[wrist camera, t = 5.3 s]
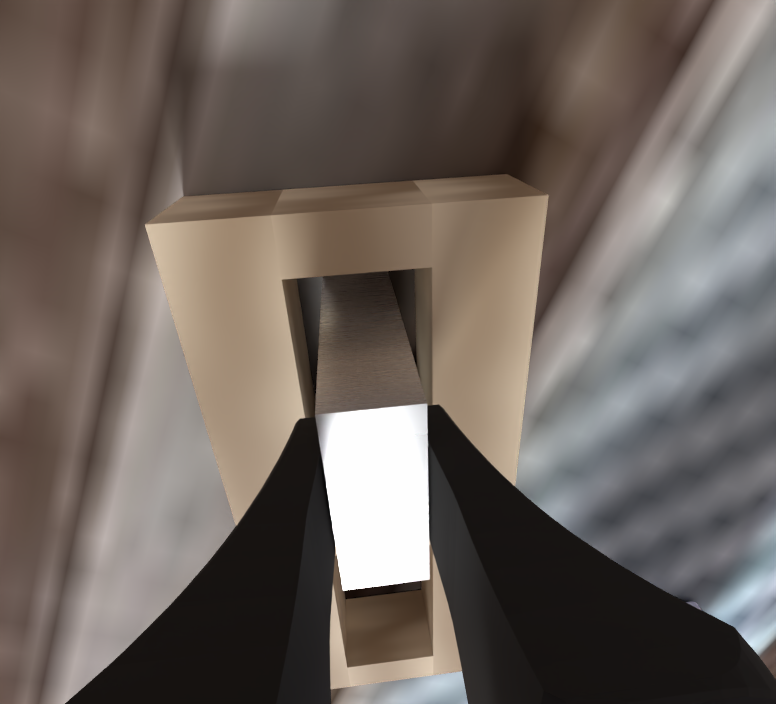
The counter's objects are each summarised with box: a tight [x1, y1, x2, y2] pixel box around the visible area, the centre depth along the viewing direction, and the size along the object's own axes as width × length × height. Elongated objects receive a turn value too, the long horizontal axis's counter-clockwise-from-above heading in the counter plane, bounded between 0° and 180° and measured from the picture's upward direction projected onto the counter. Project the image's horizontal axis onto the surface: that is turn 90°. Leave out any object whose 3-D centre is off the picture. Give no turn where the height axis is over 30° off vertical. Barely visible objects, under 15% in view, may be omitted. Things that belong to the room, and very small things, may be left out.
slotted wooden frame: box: [145, 174, 549, 689], centre depth 17 cm, size 9×20×3 cm, turn 3°
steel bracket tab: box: [315, 271, 430, 591], centre depth 13 cm, size 2×5×7 cm, turn 3°
